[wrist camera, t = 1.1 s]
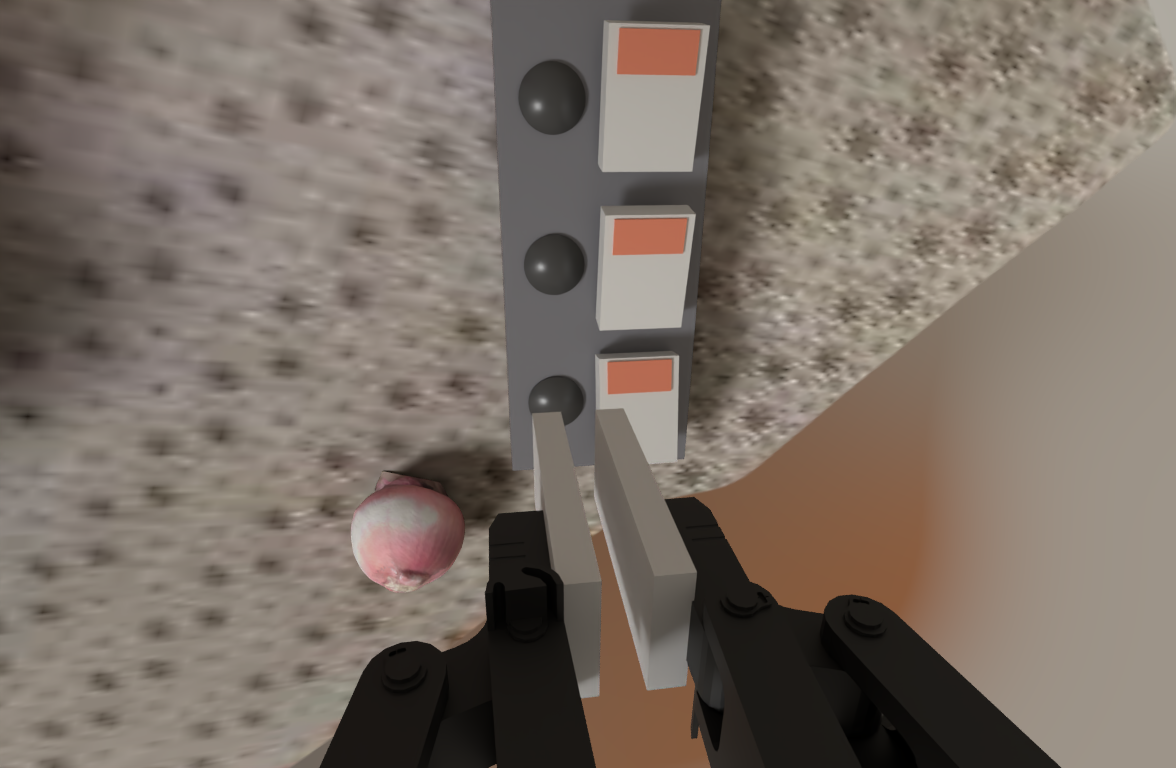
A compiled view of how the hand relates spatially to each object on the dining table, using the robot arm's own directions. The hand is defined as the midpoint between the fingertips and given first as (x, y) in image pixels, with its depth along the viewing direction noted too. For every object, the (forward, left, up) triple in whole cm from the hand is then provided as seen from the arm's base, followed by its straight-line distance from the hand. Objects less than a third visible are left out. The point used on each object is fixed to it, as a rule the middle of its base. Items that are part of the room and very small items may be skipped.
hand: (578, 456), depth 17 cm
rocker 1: (+7, +9, -21) cm, 24 cm away
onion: (-9, -19, -27) cm, 34 cm away
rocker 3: (+7, -9, -21) cm, 24 cm away
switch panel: (+5, 0, -26) cm, 27 cm away
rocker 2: (+7, 0, -21) cm, 22 cm away
